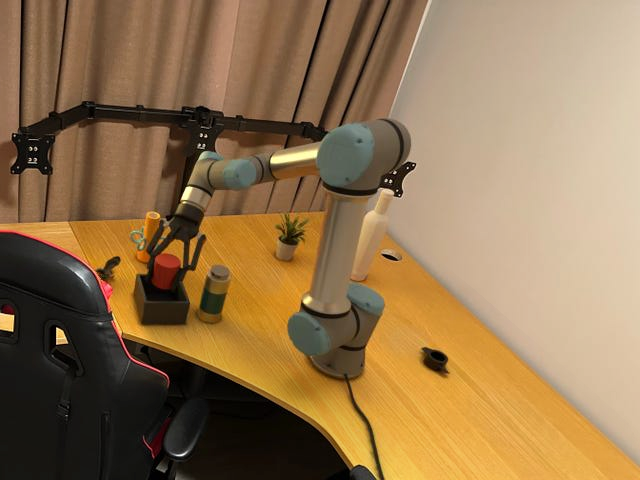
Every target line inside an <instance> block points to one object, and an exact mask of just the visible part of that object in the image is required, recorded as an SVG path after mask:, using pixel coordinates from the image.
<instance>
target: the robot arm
mask: <svg viewBox="0 0 640 480" xmlns="http://www.w3.org/2000/svg"><path fill="white" fill-rule="evenodd" d="M411 148H412V138H411V134H410V132H409V130H408V128H407V127H406V125H405V124H404V123H402V122H401V121H398V120H397V119H394V118H390V117H389V118H388V117H383V118H376V119H370V120H366V121H360V122H349V123H346V124H343V125H341V126H339V127H335V128H334V129H332V130H330V131H329V132H328V133H327V134H325V136H324V137H323V139H321V141H317V142H316V141H315V142H311V143H308V144H307V143H306V144H303V145H298V146H293V147H288V148H283V149H279V150H273V151H268V152H265V153H260V154H255V155H250V156H243V157H238V158H233V159H225V158H224V156H222V155H221V154H219V153H217V152H214V151H210V150H205V151H202V152H201V154H200V155H199V157H198V160H197V161H196V162H195V164H194V167H193V170H192V172H191V175H190V177H189V180H188V182H187V185H186V187H185V188H184V192H183V193H182V196H181V199H180V203H179V204H177V205H178V206H177V208H176V210H175V212H174V214H173V217H172V219H170V220H169V221H168V220H164V219H163V218H162V219H161V218H160V219H159V225H158V229H157V231H156V232H155V234H154V236H153V238H152V240H151V241H150V243H149V245H148V247H147V249H146V252H147V253H148V255H150V259H149V261H148V263H146V269H147V272H146V274H147V275H146V277H145V281H146V282H147V283H149V282H150V279H151V277H152V275H153V269H154V263H155V259H156V256H158V255H159V254H163V252H164V251H165V250H166V249H167V248H168V247H169V246H170V244H171V243H173V242H174V241H175V240H176V241H181V242H182V243H183V254H182V255H183V256H182V267H181V266H180V267H179V270H178V272H177V274H176V276H175V279H174V281H173V284H172V286H171V288H170V290H171V291H172V292H175V290H176V287H177V285H178V283H179V281H181V282H183V281H184V280H185V279H186V275H187V273H188V272H195V271H196V269H197V266H198V263H199V259H200V256H201V252H202V249H203V246H204V244H205V243H206V242H207V240H208V238H207V235H206V234H205V233H202V232H200V228H201V226H202V222H203V220H204V217H205V213H206V212H207V211H208V208H209V205H210V203H211V201H212V198H213V197H214V194H215V191H234V192H239V191H245V190H249V189H250V188H251V187H253V186H257V185H261V184H262V185H263V184H267V183H271V182H277V181H283V180H290V179H295V178H302V177H308V176H315V175H318V176H319V177H320V178H321V180H322V185H321V187H322V189H323V190H324V191H325V193H326V194H327V196H326V201H325V207H324V211H323V217H322V222H321V229H320V233H319V238H318V244H317V249H316V255H315V261H314V265H313V271H312V277H311V282H310V286H309V290H308V291H305V293H303V294H302V296H301V300H300V305H299V309H298V311H296V312H294V313H293V314H292V315H290V317H289V318H288V320H287V324H286V329H287V334H288V338H289V340H290V341H291V343H292V345H293V346H294V348H295V349H296V350H298V352H300V353H301V354H303V355H305V356H307V359H308V360H309V363H310V364H311V365H312V366H313V367H314V369H315V370H317V371H318V372H319V373H321V374H323V375H324V376H326V377H330V378H332V379H335V380H341V381H345V382H346V385H347V390H348V392H349V397H350V400H351V402H352V405H353V407H354V408H355V410H356V412H357V413H358V414H359V415H360V416H361V418H362V419H363V420H364V422H365V424H366V426H367V429H368V432H369V436H370V440H371V446H372V449H373V455H374V460H375V462H376V467H377V471H378V475H379V477H380V480H385V479H386V478H385V476H384V473H383V468H382V466H381V462H380V457H379V454H378V449H377V444H376V440H375V439H376V438H375V435H374V430H373V428H372V424H371V423H370V421H369V419H368V418H367V416H366V415H365V414H364V412H363V411H362V409H361V408H360V407H359V405H358V404H357V401H356V399H355V397H354V396H355V395H354V393H353V388H352V385H351V382H350V380H353V379H356V378H358V377H359V376H361V374H362V372H363V370H364V368H365V366H366V365H365V364H366V349H367V345H368V343H369V341H370V340H371V337H372V336H373V334H374V331H375V329H376V328H377V326H378V323H379V321H380V319H381V318H382V316H383V312H384V309H385V307H386V303H385V299H384V298H383V296H382V295H381V294H380V293H379V292H377V291H376V290H375V289H373V288H372V287H369V286H367V285H364V284H362V283H358V282H351V279H350V278H351V274H352V269H353V265H354V261H355V256H356V252H357V247H358V243H359V238H360V234H361V229H362V225H363V220H364V217H365V215H366V211H367V207H368V202H369V201H370V199H372V198H373V197H375V196H376V195H377V194H378V192H379V187H380V184H381V180H382V179H381V178H382V176H386V175H388V174H391V173H394V172H395V171H397V170H398V169H399V168H401V167H402V166H403V165H404V164H405V163H406V161H407V160H408V158H409V156H410V153H411V150H412V149H411ZM168 227H169V230H170V231H169V232H168V233H167V235H166V236H165V239H162V241H161V242H160V240H161V239H160V238H161V236H162V237H163V234H164V232H165V230H167V229H168ZM195 238H196V240H197V241H196V245H195V247H194V251H193V254H192V258H191V261H190V250H191V249H190V248H191V247H190V246H191V240H193V239H195ZM157 243H158V245H159V246H158V247H157V248H156V249H155V247H156V245H157ZM168 245H169V246H168ZM167 246H168V247H167ZM166 247H167V248H166ZM154 249H155V250H154ZM153 250H154V251H153Z"/></svg>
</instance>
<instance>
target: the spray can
mask: <svg viewBox="0 0 640 480" xmlns="http://www.w3.org/2000/svg"><path fill="white" fill-rule="evenodd" d="M230 272H231V271H230V269H229V268H228V267H226V266H225V265H221V264H214V265H212V266H211V267H210V269H208V270H207V272H206V274H205V279H204V284H203V287H202V291H201V292H202V293H201V297H200V301H199V305H198V309H197V317H198V318H199V320H201V321H202V322H205V323H209V324H215V323H218V322H219V321H220V320H221V317H222V313H223V310H224V306H225V302H226V299H227V295H228V290H229V288H230V283H231V280H232V276H231V273H230Z"/></svg>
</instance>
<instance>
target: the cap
mask: <svg viewBox="0 0 640 480" xmlns="http://www.w3.org/2000/svg"><path fill="white" fill-rule="evenodd" d="M181 266H182V261H181V259H180V258H179V257H178V256H177V255H175V254H171V253H161V254H159V255H158V256H156V259H155V263H154V269H153V275H152V283H153V284H154V285H155V286H156V287H158V288H161V289H170V288H171V286H172V284H173V281H174V279H175V276H176V274H177V272H178V270H179V267H181Z"/></svg>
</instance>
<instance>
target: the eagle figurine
mask: <svg viewBox="0 0 640 480" xmlns="http://www.w3.org/2000/svg"><path fill="white" fill-rule="evenodd" d="M121 261H122V258H121V257H120V255H115V256H113V257H111V258H109V259H107V261H106V262H105V264H104V266H102V267H98V268H96V269H94V270H95V271H96V272H97V273H96V274H99V275H100V276H101V277H100V278H101V279H102V280H103V281H105V282H107V280H109V279H111V280H112V281H114V277H116V276H115V274H113V275H112V273H111V272H113V271H114V270H113V269H115V267H117V266H119V265H120V264H121ZM101 279H100V280H101ZM102 280H101V281H102Z"/></svg>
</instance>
